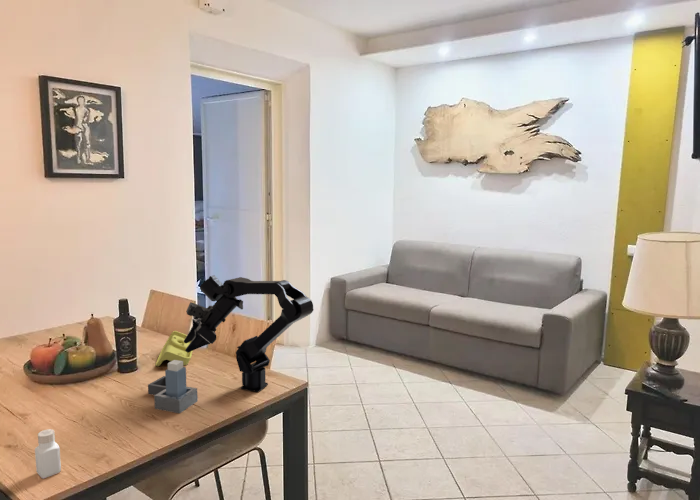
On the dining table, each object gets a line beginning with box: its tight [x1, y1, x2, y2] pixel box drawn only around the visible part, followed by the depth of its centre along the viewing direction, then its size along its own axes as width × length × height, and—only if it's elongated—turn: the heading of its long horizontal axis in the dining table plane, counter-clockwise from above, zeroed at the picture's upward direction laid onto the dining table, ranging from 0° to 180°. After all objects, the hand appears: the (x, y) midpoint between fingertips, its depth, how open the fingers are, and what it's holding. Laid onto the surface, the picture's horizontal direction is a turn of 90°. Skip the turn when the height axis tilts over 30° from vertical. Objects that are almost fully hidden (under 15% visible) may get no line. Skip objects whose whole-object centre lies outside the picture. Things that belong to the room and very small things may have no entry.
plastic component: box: [155, 330, 193, 367], centre depth 184 cm, size 20×7×10 cm
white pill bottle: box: [34, 428, 62, 479], centre depth 110 cm, size 4×4×10 cm
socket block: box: [153, 386, 198, 414], centre depth 145 cm, size 8×8×4 cm
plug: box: [164, 360, 187, 397], centre depth 144 cm, size 4×4×13 cm
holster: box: [147, 375, 166, 396], centre depth 154 cm, size 7×7×3 cm
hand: (185, 347), depth 158 cm, fingers open, 9 cm apart
